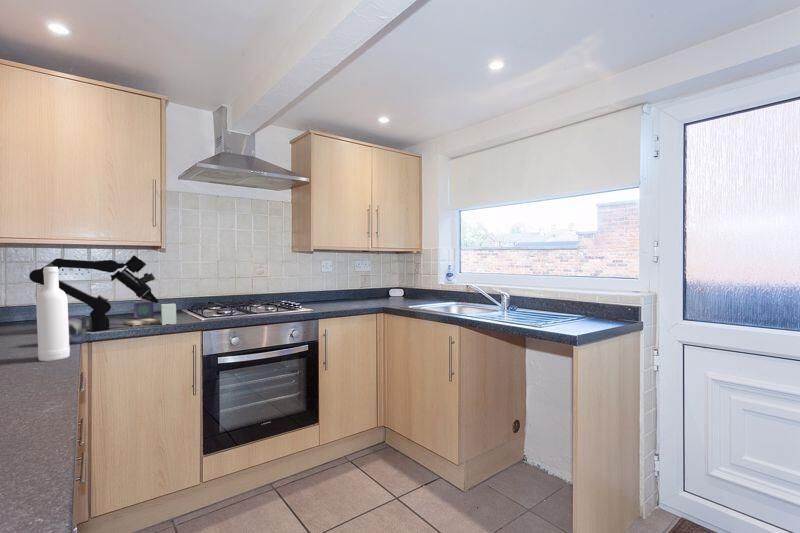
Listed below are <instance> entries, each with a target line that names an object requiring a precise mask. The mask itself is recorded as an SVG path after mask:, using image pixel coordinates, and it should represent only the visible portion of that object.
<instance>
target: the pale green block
mask: <svg viewBox="0 0 800 533" xmlns="http://www.w3.org/2000/svg"><path fill="white" fill-rule="evenodd" d="M160 316H161V320H160V323H161V325H162V326H167V325H166V324H170V325H177V305H176V303H175V302H174V303H163V304H160Z"/></svg>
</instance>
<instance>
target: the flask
mask: <svg viewBox="0 0 800 533" xmlns="http://www.w3.org/2000/svg"><path fill="white" fill-rule="evenodd" d="M154 314H155V312H154V302H151V301H148V300H144V299H141V301H134V302H133V319H134V318H138V319H139V318H143V319H154V318H153V317H155V316H154Z"/></svg>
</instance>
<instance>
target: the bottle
mask: <svg viewBox="0 0 800 533" xmlns="http://www.w3.org/2000/svg"><path fill="white" fill-rule="evenodd" d="M43 267H44V266H43ZM43 273H44V285H43V289H42V290H41V291H39V292H38V294H37V297H36V298H35V304H36V308H35V310H36V330H37V331H36V332H37V357H38V360H39V361H40V362H52V361H59V360H64V359H67V358H69V357H70V355H71V347H70V345H69V325H68V316H69V305H68V302H69V299H68V295H67V294H65V292H64V291H63V290H61V289H60V288H59V280H60V279H59V273H60V269H58V267H44V270H43Z"/></svg>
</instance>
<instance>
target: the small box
mask: <svg viewBox="0 0 800 533" xmlns="http://www.w3.org/2000/svg"><path fill="white" fill-rule="evenodd" d="M68 325H69V346H70V345H82V344H85V343H86V342H87V341H88V339H87V337H88V336H87V335H88V334H87V314H79V315H68Z"/></svg>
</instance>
